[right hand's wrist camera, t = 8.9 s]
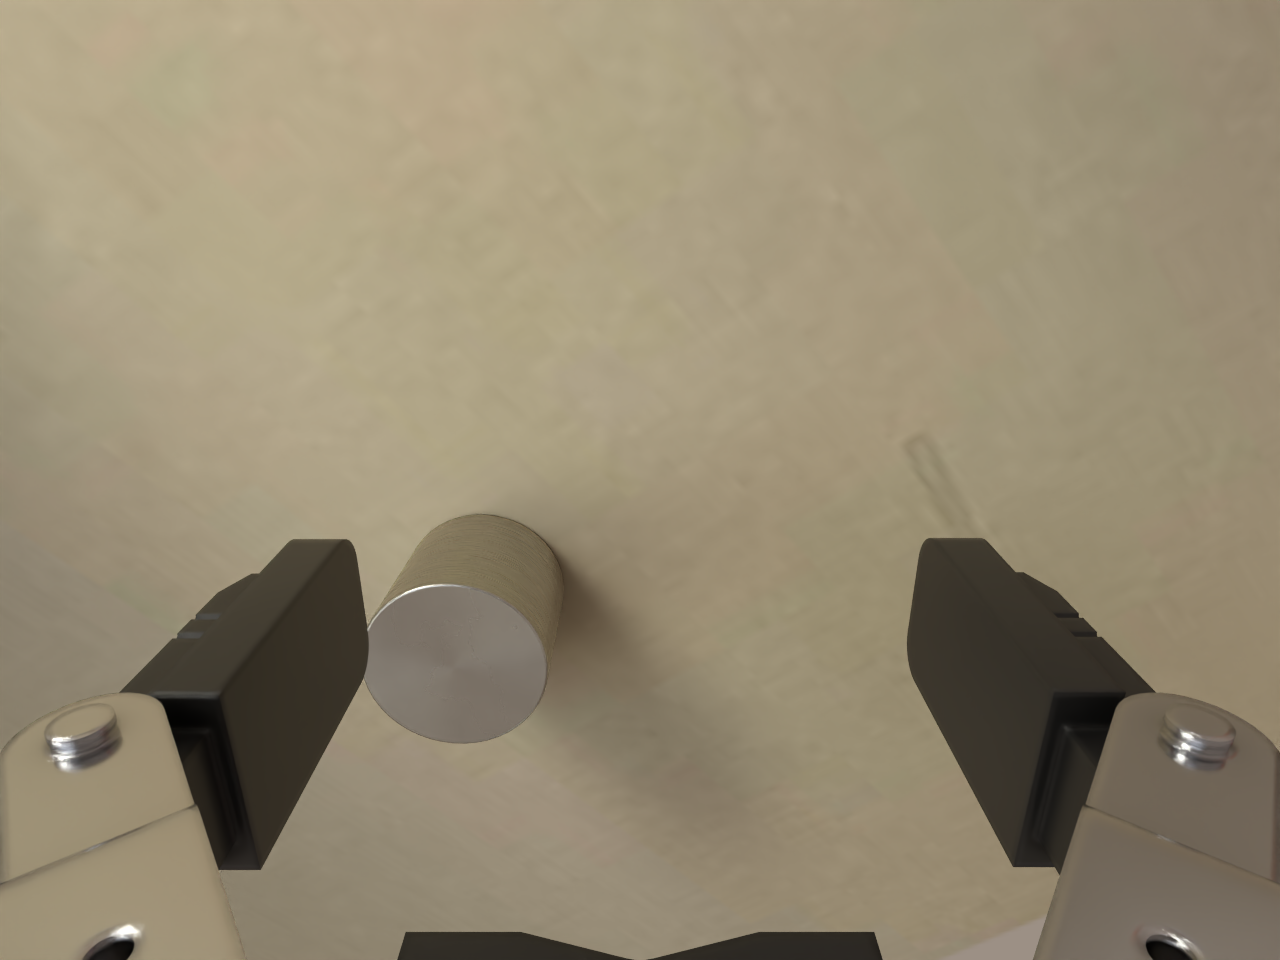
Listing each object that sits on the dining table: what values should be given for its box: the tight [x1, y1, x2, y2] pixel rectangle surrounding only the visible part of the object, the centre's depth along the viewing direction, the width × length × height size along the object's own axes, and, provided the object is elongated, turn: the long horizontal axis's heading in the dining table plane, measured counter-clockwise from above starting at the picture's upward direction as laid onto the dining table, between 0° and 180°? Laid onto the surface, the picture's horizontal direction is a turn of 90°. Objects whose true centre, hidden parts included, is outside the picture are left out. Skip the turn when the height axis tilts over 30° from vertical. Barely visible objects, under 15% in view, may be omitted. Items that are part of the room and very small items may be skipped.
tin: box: [364, 515, 564, 743], centre depth 22 cm, size 5×5×4 cm
